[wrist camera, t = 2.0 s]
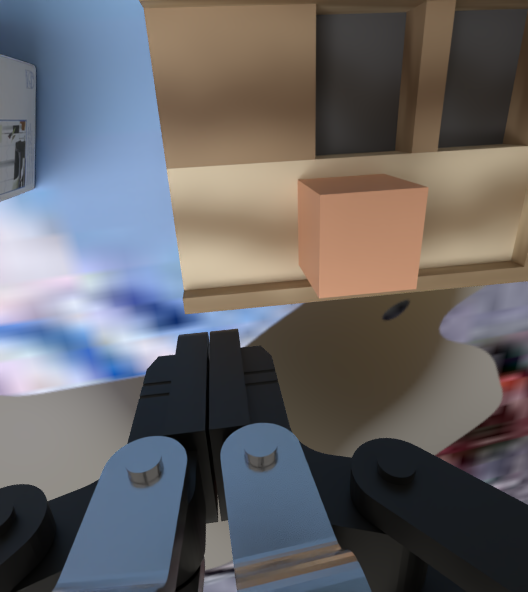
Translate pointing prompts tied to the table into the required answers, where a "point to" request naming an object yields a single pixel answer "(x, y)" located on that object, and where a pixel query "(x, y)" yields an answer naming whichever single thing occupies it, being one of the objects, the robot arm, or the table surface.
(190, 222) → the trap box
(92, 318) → the table surface
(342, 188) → the block
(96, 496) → the robot arm
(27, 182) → the light bulb box
